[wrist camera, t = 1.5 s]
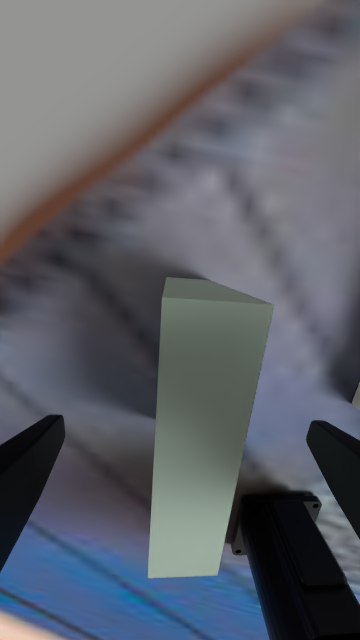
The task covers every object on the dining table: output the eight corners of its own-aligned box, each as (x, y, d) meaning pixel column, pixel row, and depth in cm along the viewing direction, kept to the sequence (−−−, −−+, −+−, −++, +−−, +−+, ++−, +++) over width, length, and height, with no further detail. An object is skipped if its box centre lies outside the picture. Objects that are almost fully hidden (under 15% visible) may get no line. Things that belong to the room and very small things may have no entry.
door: (193, 420, 13) (217, 575, 7) (158, 419, 13) (147, 578, 7) (209, 280, 11) (274, 304, 4) (166, 276, 11) (161, 297, 4)
